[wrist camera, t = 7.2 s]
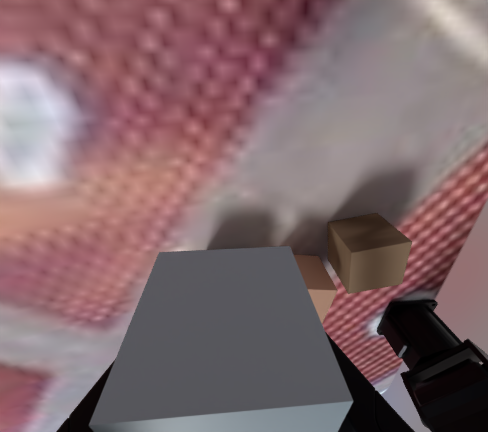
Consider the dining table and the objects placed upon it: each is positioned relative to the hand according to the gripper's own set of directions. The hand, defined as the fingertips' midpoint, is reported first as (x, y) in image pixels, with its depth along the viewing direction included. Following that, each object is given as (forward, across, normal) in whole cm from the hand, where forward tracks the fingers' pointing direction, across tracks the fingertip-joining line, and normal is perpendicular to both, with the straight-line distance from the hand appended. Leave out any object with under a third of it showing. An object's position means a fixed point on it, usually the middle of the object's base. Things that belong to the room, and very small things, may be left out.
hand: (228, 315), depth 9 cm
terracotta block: (+13, -7, +10) cm, 18 cm away
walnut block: (+13, -13, +6) cm, 19 cm away
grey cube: (+1, 0, 0) cm, 1 cm away
